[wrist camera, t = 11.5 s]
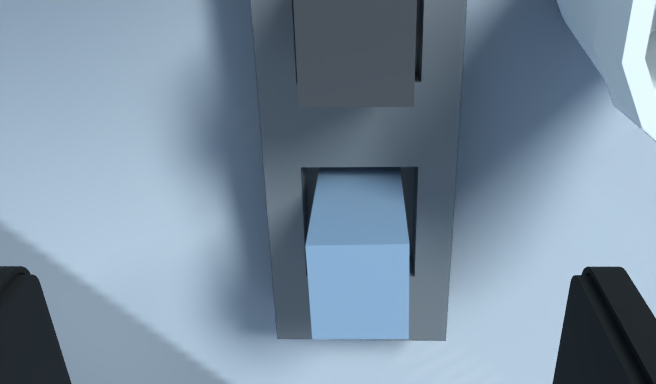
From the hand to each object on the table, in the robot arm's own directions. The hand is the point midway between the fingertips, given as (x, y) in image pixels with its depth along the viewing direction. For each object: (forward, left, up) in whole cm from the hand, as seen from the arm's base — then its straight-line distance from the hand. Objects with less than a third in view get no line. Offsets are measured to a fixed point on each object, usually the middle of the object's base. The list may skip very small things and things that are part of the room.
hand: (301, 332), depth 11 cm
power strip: (-1, +1, -21) cm, 21 cm away
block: (+7, +1, -20) cm, 21 cm away
